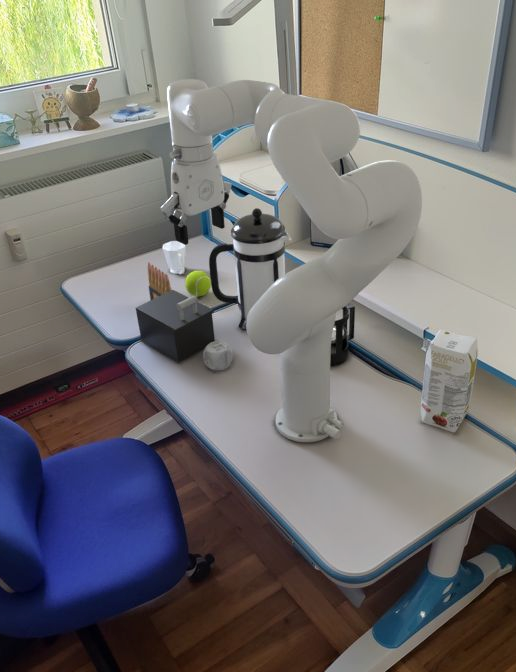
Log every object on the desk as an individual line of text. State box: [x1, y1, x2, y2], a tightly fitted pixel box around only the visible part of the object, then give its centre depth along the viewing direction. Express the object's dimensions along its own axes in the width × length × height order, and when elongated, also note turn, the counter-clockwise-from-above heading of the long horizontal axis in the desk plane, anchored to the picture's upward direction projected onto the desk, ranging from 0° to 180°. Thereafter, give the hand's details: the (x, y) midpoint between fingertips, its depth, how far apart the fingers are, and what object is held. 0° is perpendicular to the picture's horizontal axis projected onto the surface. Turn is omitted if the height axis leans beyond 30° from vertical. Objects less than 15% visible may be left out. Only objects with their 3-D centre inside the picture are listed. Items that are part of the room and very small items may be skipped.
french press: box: [330, 302, 356, 368], centre depth 148 cm, size 12×9×23 cm
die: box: [202, 340, 234, 372], centre depth 152 cm, size 5×5×5 cm
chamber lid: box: [135, 289, 215, 332], centre depth 156 cm, size 15×12×5 cm
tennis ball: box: [184, 270, 212, 298], centre depth 180 cm, size 7×7×7 cm
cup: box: [162, 240, 186, 275], centre depth 191 cm, size 7×10×8 cm
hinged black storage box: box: [135, 310, 216, 364], centre depth 160 cm, size 15×12×9 cm
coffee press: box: [208, 207, 292, 331], centre depth 160 cm, size 17×16×30 cm
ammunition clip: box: [147, 262, 173, 301], centre depth 173 cm, size 11×2×12 cm, turn 37°
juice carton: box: [420, 328, 479, 433], centre depth 128 cm, size 8×9×19 cm
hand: (200, 234), depth 133 cm, fingers open, 9 cm apart
